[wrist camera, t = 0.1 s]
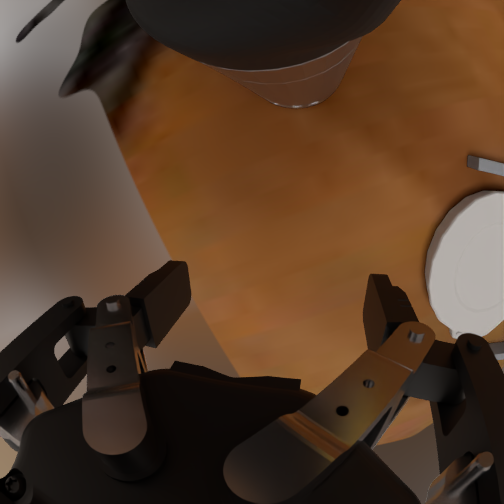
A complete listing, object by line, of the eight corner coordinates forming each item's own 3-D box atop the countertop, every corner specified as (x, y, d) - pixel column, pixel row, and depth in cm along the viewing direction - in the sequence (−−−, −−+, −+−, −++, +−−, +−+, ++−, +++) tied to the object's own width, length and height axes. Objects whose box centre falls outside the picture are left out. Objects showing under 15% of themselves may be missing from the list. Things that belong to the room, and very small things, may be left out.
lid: (417, 347, 32) (422, 362, 29) (415, 196, 25) (425, 203, 22) (516, 318, 27) (524, 331, 24) (531, 179, 20) (545, 184, 17)
